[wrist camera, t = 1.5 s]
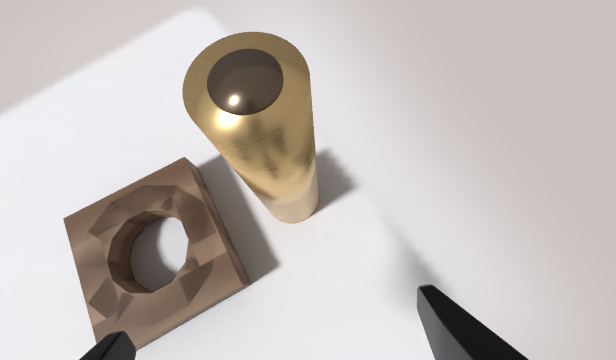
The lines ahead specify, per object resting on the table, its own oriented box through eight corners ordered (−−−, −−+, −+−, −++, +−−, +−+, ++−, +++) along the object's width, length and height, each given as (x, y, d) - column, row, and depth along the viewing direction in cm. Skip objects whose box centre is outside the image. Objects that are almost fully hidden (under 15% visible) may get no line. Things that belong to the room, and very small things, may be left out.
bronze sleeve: (328, 206, 24) (334, 98, 9) (281, 233, 23) (210, 162, 9) (302, 163, 25) (273, 10, 11) (257, 187, 25) (162, 62, 10)
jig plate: (250, 284, 22) (242, 285, 20) (127, 355, 21) (102, 365, 19) (197, 168, 25) (184, 156, 23) (88, 224, 24) (63, 218, 22)
